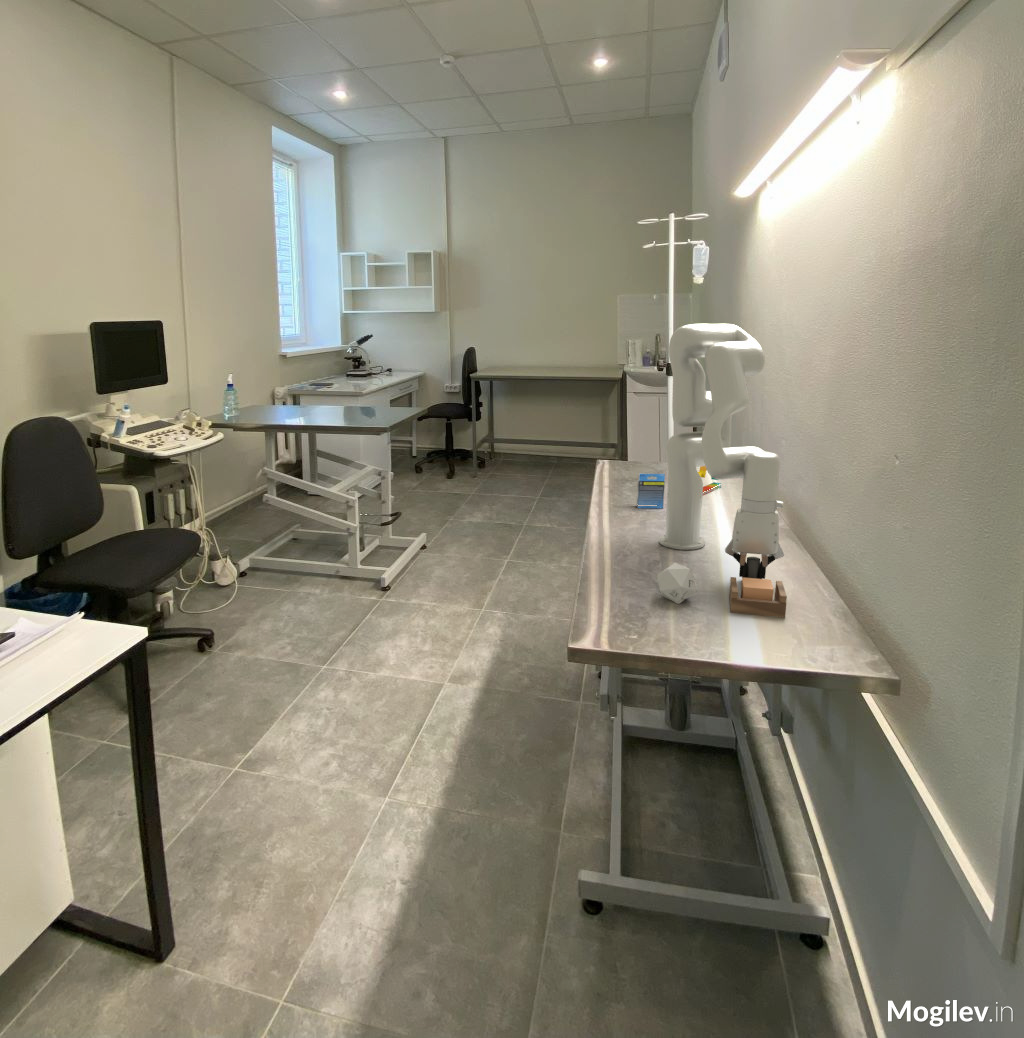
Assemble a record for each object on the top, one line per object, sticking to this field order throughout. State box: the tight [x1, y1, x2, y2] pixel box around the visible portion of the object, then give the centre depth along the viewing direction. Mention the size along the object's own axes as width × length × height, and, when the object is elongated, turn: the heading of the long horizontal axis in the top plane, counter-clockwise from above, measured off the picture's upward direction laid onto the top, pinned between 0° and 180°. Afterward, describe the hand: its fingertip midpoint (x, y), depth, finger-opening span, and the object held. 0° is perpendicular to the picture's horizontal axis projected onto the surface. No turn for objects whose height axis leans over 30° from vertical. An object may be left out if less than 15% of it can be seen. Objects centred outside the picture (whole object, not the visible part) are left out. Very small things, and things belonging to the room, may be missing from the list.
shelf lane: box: [728, 576, 788, 618], centre depth 142 cm, size 10×11×4 cm
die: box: [656, 562, 698, 605], centre depth 146 cm, size 8×9×10 cm
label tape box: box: [636, 473, 666, 509], centre depth 225 cm, size 9×4×12 cm, turn 84°
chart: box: [697, 466, 722, 497], centre depth 243 cm, size 30×3×15 cm, turn 141°
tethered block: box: [739, 556, 775, 601], centre depth 148 cm, size 18×6×6 cm, turn 164°
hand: (751, 579), depth 156 cm, fingers closed on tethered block, 3 cm apart
